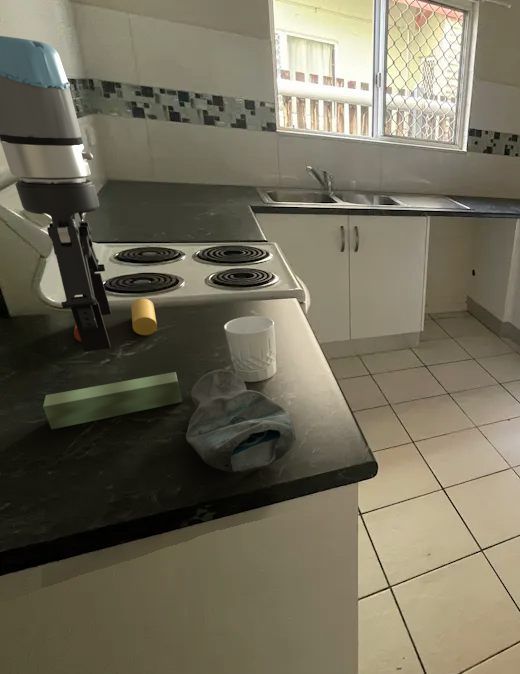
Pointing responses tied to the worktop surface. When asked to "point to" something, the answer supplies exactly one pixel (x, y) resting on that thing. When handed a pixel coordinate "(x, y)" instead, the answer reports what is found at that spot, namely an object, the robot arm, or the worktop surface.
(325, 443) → the worktop surface
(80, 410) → the green bar
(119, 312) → the worktop surface
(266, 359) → the white cup
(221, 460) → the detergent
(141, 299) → the yellow rod
